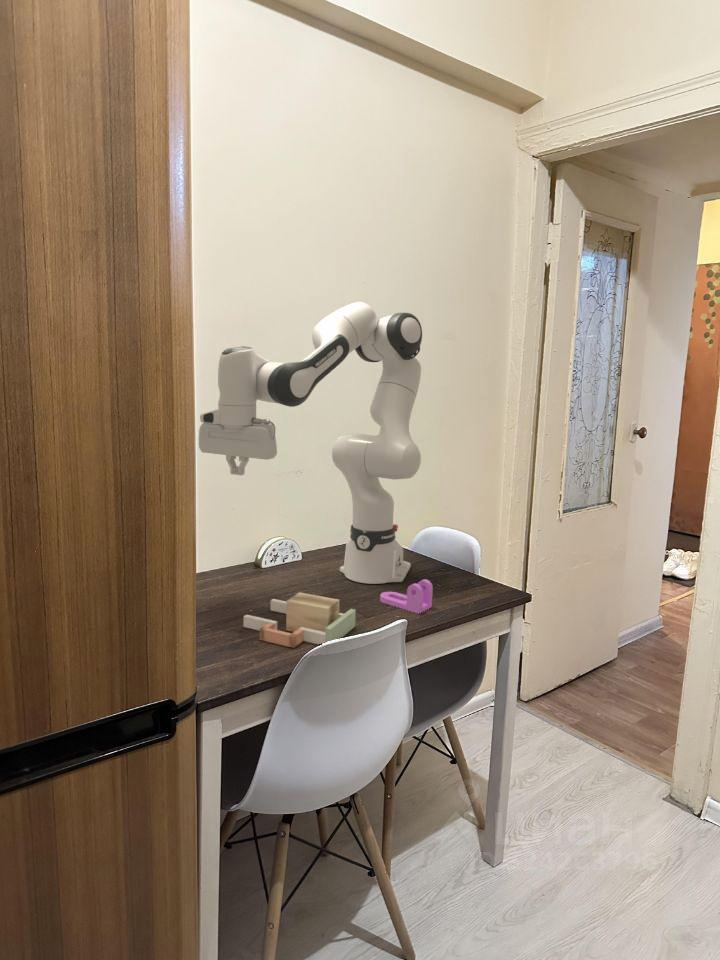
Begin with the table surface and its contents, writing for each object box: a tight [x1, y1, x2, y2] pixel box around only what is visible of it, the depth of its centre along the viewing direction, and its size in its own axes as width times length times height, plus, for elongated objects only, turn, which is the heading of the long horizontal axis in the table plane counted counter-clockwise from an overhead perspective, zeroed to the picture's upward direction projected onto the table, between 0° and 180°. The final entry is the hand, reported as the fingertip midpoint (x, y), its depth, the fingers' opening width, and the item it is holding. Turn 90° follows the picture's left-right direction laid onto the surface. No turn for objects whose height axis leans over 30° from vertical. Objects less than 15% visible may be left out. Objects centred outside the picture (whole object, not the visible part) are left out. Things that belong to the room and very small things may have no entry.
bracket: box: [379, 578, 434, 615], centre depth 168 cm, size 13×6×7 cm, turn 51°
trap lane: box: [243, 598, 357, 649], centre depth 152 cm, size 20×22×4 cm
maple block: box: [285, 591, 340, 633], centre depth 150 cm, size 6×10×7 cm, turn 68°
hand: (237, 474), depth 163 cm, fingers closed
